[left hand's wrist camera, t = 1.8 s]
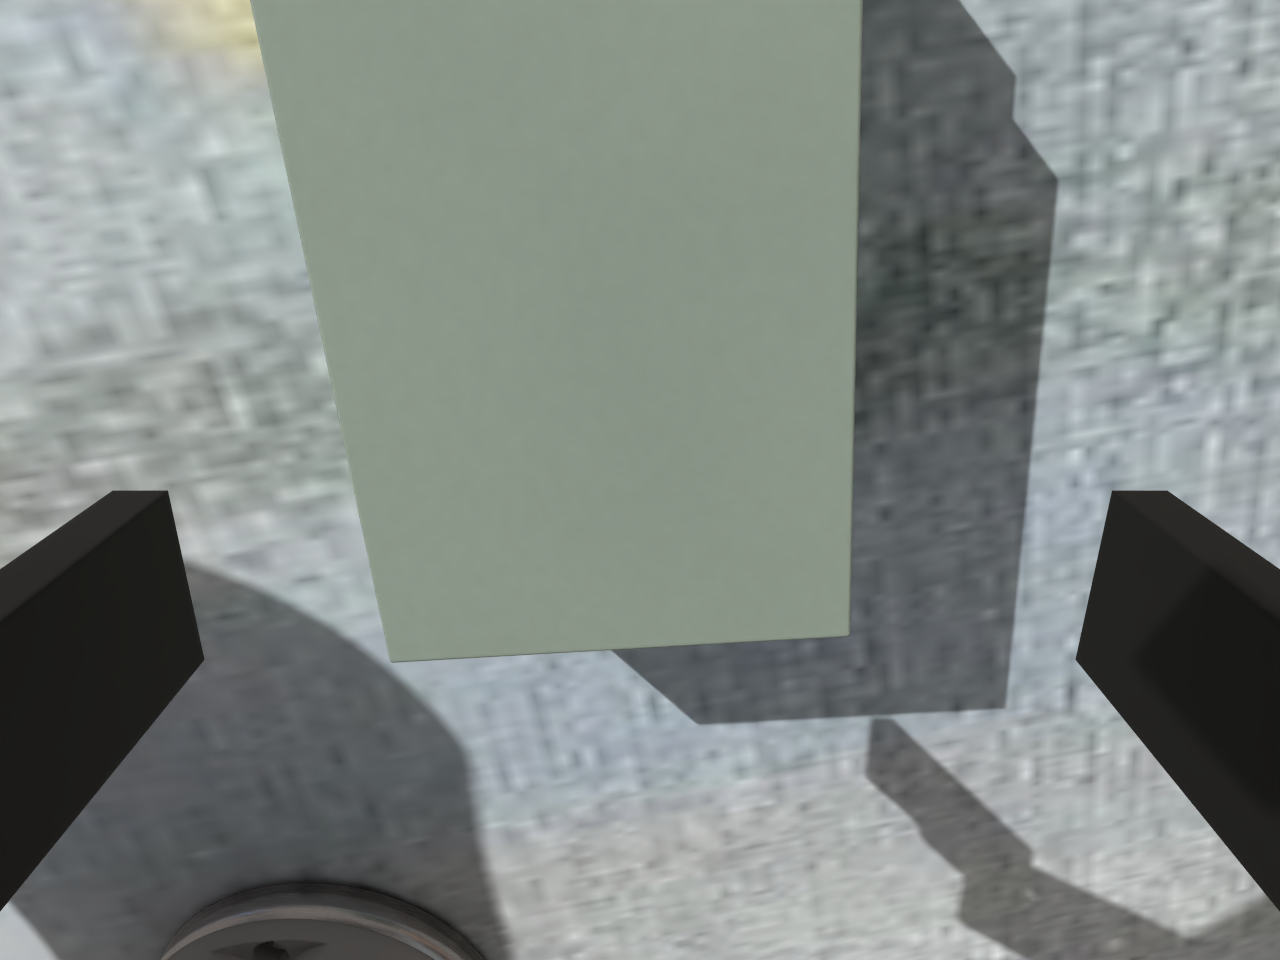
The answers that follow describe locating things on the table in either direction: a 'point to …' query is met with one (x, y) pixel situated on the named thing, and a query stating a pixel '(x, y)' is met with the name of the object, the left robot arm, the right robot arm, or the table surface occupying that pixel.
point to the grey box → (584, 309)
